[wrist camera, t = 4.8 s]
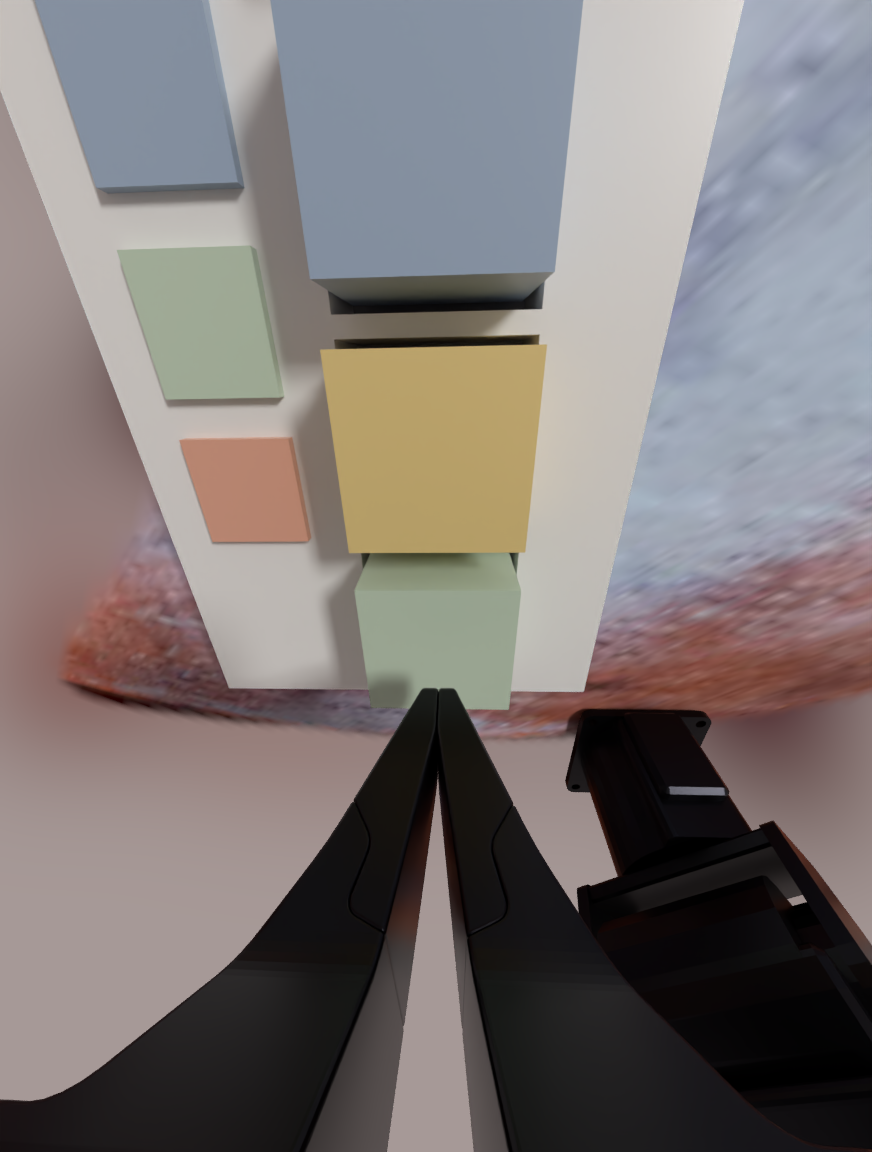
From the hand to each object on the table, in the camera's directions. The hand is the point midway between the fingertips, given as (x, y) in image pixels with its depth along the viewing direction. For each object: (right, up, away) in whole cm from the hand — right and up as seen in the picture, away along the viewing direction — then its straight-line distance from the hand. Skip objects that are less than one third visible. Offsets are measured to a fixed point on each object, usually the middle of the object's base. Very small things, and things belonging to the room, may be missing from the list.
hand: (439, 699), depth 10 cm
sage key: (0, +2, +4) cm, 5 cm away
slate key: (0, +12, -1) cm, 12 cm away
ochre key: (0, +7, +2) cm, 8 cm away
